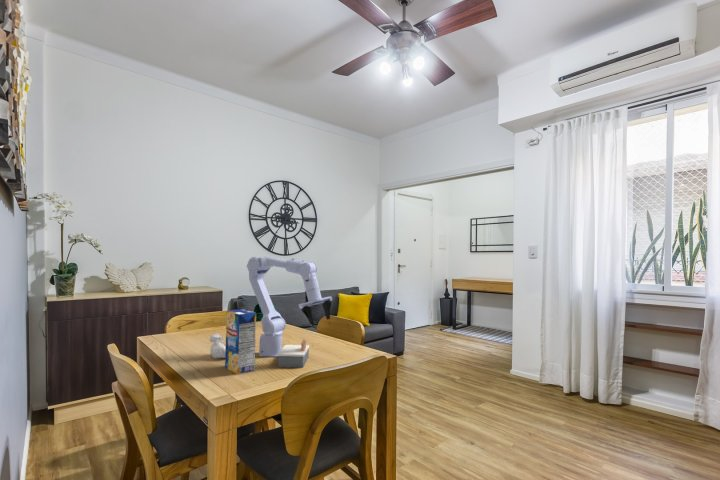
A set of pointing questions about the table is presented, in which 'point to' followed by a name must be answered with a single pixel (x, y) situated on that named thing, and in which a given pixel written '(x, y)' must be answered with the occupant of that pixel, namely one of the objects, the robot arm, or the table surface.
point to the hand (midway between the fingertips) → (320, 321)
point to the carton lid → (294, 350)
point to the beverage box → (240, 341)
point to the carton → (293, 360)
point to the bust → (217, 346)
